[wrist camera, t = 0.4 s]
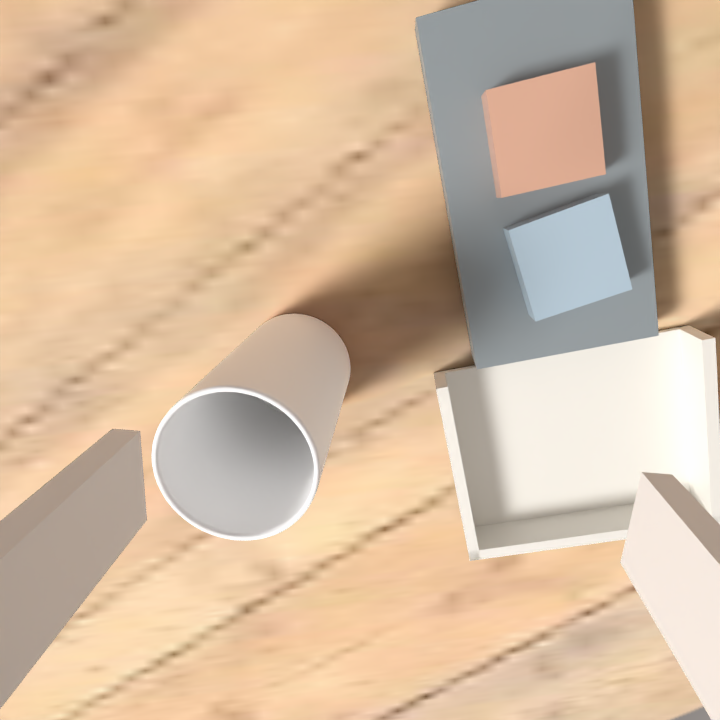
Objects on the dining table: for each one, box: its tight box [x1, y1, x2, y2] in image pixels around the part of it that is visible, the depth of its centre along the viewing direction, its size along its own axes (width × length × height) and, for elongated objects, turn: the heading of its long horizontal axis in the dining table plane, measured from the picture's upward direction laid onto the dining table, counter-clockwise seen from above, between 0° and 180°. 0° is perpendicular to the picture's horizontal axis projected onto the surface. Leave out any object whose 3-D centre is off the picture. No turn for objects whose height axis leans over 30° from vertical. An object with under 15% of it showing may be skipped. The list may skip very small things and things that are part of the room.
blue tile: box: [503, 194, 632, 321], centre depth 34 cm, size 6×6×2 cm
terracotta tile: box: [481, 62, 606, 198], centre depth 32 cm, size 6×6×2 cm
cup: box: [152, 314, 351, 540], centre depth 34 cm, size 8×8×16 cm
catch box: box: [434, 325, 720, 561], centre depth 40 cm, size 14×18×4 cm
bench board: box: [415, 0, 659, 369], centre depth 35 cm, size 22×12×2 cm, turn 13°
